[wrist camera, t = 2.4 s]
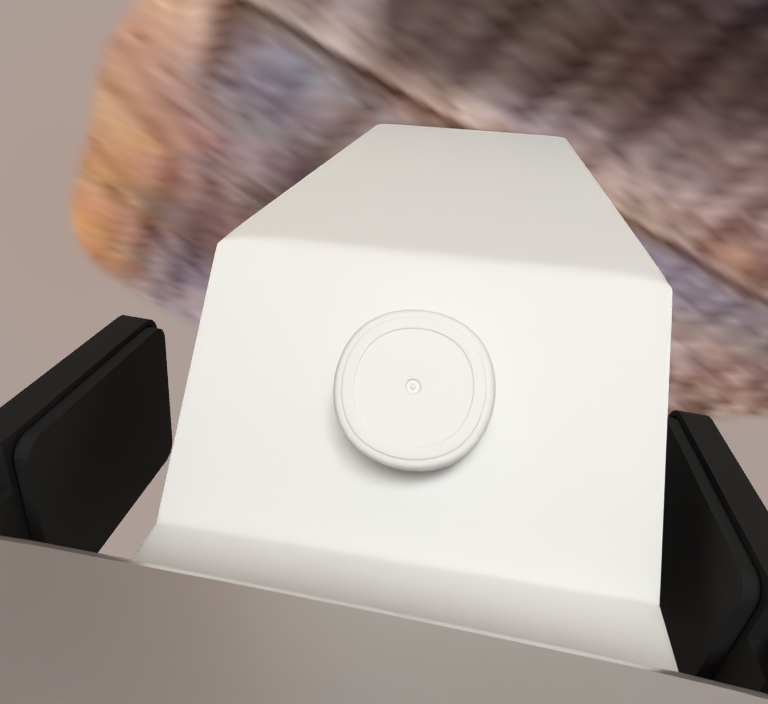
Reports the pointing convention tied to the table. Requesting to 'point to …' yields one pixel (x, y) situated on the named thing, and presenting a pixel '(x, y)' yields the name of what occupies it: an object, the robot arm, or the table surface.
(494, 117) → the table surface
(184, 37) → the table surface
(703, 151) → the table surface
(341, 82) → the table surface
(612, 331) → the milk carton
